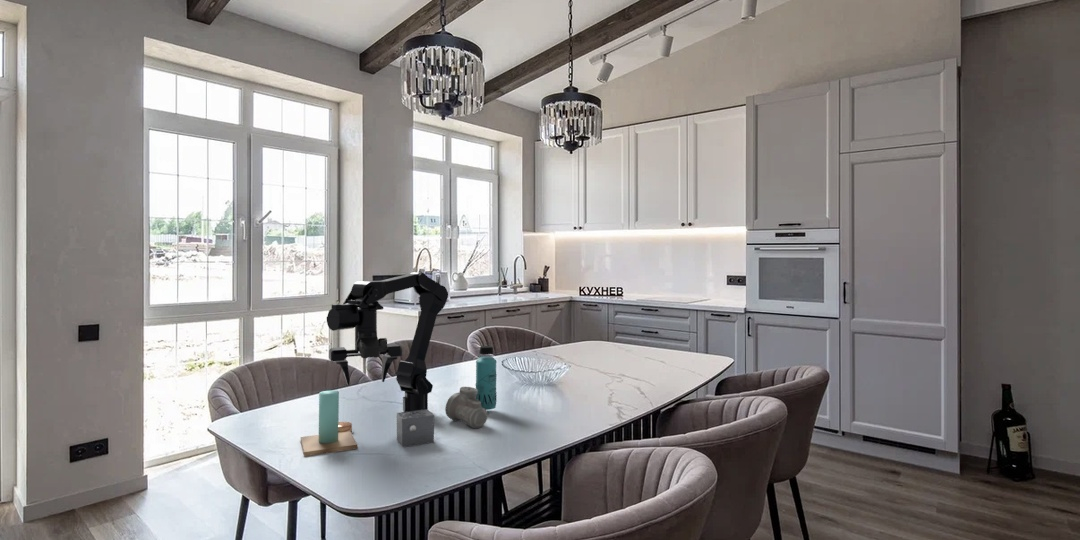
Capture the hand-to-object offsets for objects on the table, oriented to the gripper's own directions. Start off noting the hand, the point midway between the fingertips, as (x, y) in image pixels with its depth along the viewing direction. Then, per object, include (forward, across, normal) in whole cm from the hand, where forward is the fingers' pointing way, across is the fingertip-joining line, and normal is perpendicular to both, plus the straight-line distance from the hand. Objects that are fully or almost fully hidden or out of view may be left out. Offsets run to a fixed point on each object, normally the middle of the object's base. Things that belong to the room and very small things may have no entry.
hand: (366, 383), depth 153 cm
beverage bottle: (+12, +35, -1) cm, 37 cm away
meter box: (+12, +9, -18) cm, 23 cm away
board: (+12, -11, -11) cm, 20 cm away
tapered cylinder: (+11, -11, -11) cm, 19 cm away
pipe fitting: (+12, +26, -10) cm, 30 cm away
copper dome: (+12, -7, -2) cm, 14 cm away
